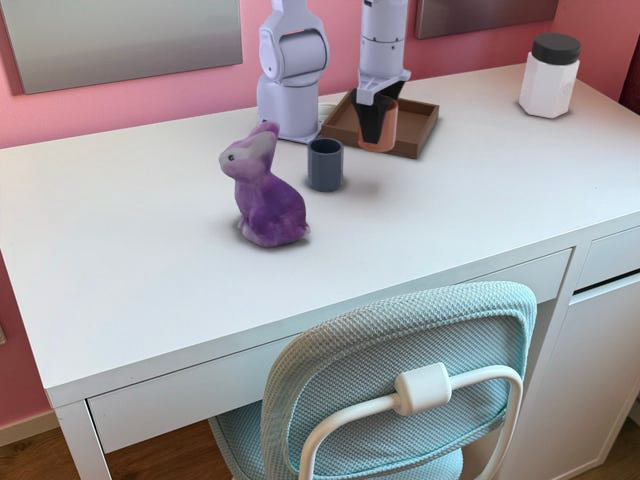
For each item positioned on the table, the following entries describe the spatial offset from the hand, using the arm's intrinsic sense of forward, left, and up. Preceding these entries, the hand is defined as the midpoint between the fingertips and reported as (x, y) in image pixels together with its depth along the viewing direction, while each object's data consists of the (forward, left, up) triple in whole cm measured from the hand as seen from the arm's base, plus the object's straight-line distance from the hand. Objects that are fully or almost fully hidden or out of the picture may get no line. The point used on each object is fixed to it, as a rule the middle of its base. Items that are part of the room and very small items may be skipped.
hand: (376, 133), depth 103 cm
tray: (-4, +19, -9) cm, 21 cm away
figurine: (-10, -16, -9) cm, 21 cm away
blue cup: (-7, -1, -9) cm, 11 cm away
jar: (+21, +39, -9) cm, 45 cm away
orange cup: (0, 0, -2) cm, 2 cm away
